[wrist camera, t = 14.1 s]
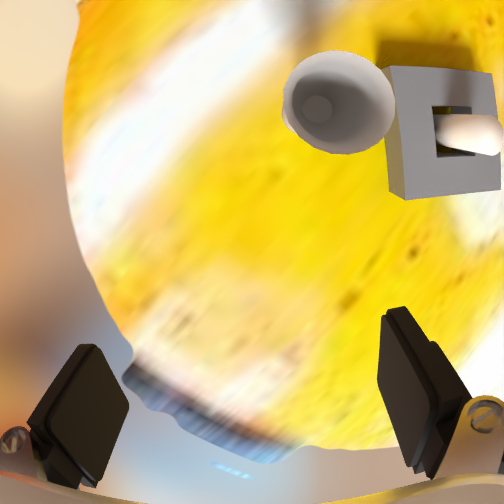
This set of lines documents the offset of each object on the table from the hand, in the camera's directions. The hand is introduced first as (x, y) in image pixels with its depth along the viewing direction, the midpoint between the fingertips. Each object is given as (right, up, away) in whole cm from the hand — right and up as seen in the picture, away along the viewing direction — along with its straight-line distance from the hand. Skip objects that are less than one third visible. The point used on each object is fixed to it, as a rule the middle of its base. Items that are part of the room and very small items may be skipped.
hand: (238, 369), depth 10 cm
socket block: (+24, +19, +24) cm, 39 cm away
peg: (+24, +19, +24) cm, 39 cm away
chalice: (+6, +19, +25) cm, 32 cm away
